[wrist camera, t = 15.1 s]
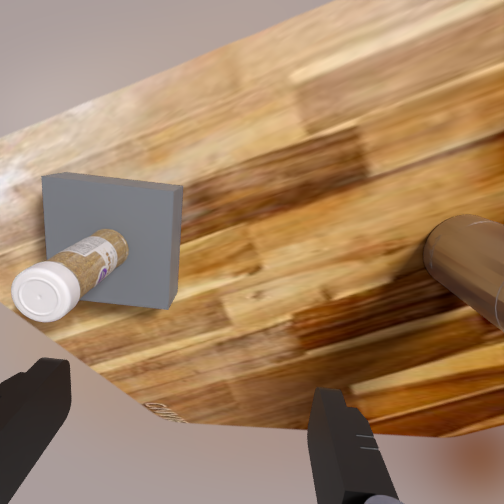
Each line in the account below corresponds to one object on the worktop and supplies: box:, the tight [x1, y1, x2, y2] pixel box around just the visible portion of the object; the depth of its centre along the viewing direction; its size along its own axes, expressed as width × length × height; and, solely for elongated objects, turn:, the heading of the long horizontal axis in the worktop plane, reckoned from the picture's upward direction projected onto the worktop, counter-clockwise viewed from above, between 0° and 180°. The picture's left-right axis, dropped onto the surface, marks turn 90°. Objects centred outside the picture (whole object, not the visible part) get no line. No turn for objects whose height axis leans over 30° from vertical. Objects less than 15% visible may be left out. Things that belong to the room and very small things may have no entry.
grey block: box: [41, 172, 183, 310], centre depth 42 cm, size 14×14×5 cm
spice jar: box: [11, 229, 129, 322], centre depth 33 cm, size 5×5×13 cm
